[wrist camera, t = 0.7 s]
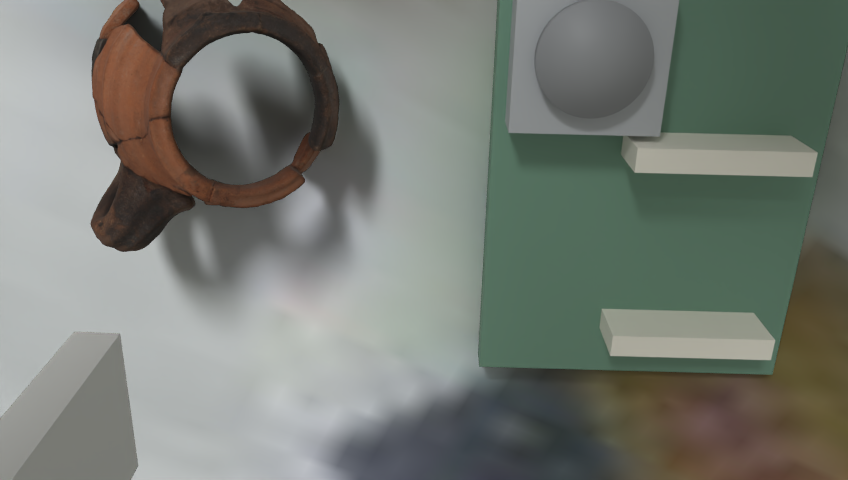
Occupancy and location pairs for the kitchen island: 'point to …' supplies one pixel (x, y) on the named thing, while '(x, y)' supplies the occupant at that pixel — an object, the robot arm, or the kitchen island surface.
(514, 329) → the header board
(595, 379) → the kitchen island surface
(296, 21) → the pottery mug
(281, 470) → the kitchen island surface
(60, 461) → the robot arm
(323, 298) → the kitchen island surface
